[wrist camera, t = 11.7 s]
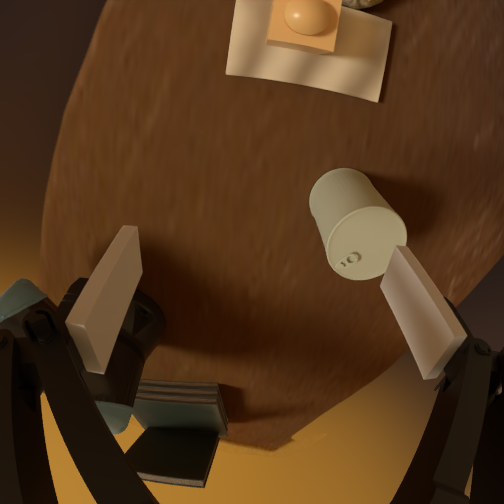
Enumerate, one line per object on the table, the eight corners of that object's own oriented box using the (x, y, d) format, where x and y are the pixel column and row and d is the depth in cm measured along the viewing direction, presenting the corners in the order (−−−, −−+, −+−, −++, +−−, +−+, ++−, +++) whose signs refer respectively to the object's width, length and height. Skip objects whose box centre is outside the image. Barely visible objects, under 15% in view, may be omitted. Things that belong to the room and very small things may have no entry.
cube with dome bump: (265, 45, 28) (268, 38, 22) (272, -2, 25) (277, -20, 18) (318, 54, 29) (336, 51, 22) (326, 9, 25) (345, -6, 19)
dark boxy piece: (149, 412, 76) (134, 489, 56) (125, 375, 65) (100, 468, 45) (228, 417, 76) (224, 501, 55) (219, 381, 65) (211, 485, 44)
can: (295, 196, 40) (308, 246, 30) (350, 153, 37) (384, 190, 27) (334, 240, 44) (355, 296, 34) (385, 203, 40) (421, 251, 30)
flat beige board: (226, 74, 31) (221, 75, 26) (238, -10, 25) (235, -24, 20) (374, 101, 32) (394, 108, 27) (388, 22, 26) (410, 17, 21)
